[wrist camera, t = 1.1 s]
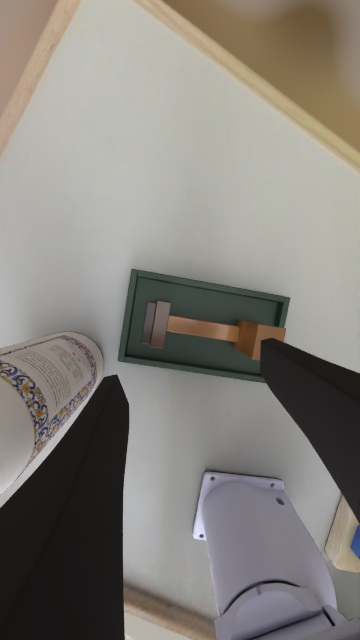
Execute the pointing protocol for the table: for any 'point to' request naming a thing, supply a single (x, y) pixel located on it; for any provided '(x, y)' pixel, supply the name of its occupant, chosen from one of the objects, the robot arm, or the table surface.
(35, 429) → the bath foam
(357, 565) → the shape sorter
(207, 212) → the table surface
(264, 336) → the brown barbell-shaped piece
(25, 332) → the table surface
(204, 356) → the brush tray
